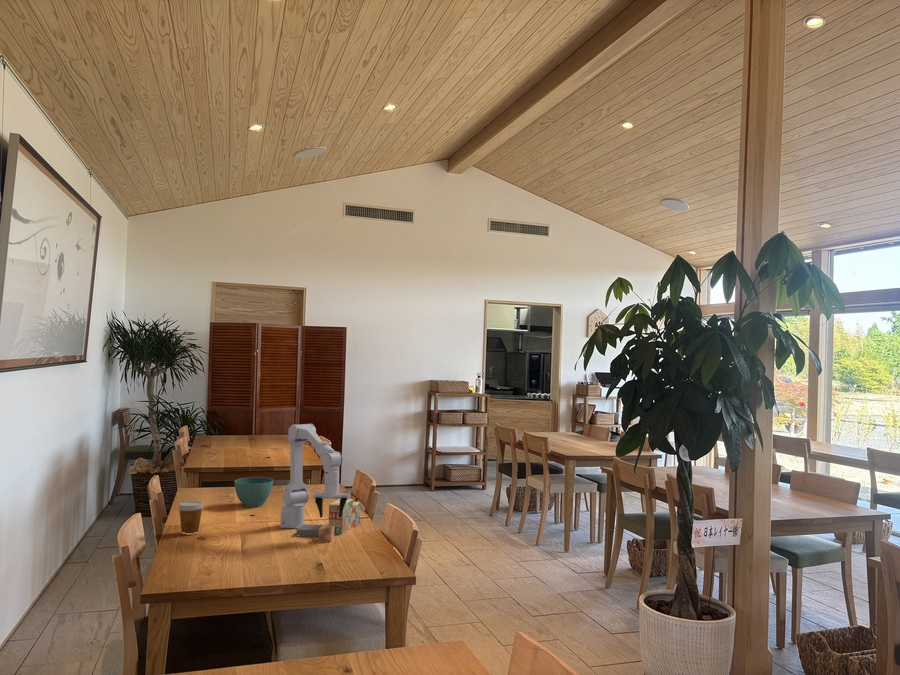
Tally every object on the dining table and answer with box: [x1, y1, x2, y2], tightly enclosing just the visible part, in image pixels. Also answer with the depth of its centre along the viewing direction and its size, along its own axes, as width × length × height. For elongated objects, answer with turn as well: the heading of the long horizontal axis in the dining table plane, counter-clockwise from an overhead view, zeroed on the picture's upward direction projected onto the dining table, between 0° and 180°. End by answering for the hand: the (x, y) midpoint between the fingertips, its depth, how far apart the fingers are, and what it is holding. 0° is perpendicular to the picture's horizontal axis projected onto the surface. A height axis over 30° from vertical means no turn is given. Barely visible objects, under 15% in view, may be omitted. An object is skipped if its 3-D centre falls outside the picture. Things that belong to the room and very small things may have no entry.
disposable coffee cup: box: [178, 501, 204, 533], centre depth 271 cm, size 10×10×12 cm
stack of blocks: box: [328, 498, 361, 535], centre depth 285 cm, size 21×6×12 cm, turn 168°
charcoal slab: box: [296, 523, 326, 537], centre depth 274 cm, size 9×9×3 cm
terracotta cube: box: [318, 525, 335, 542], centre depth 265 cm, size 5×5×5 cm
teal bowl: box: [233, 476, 274, 508], centre depth 327 cm, size 18×18×12 cm
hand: (330, 517), depth 267 cm, fingers open, 7 cm apart
